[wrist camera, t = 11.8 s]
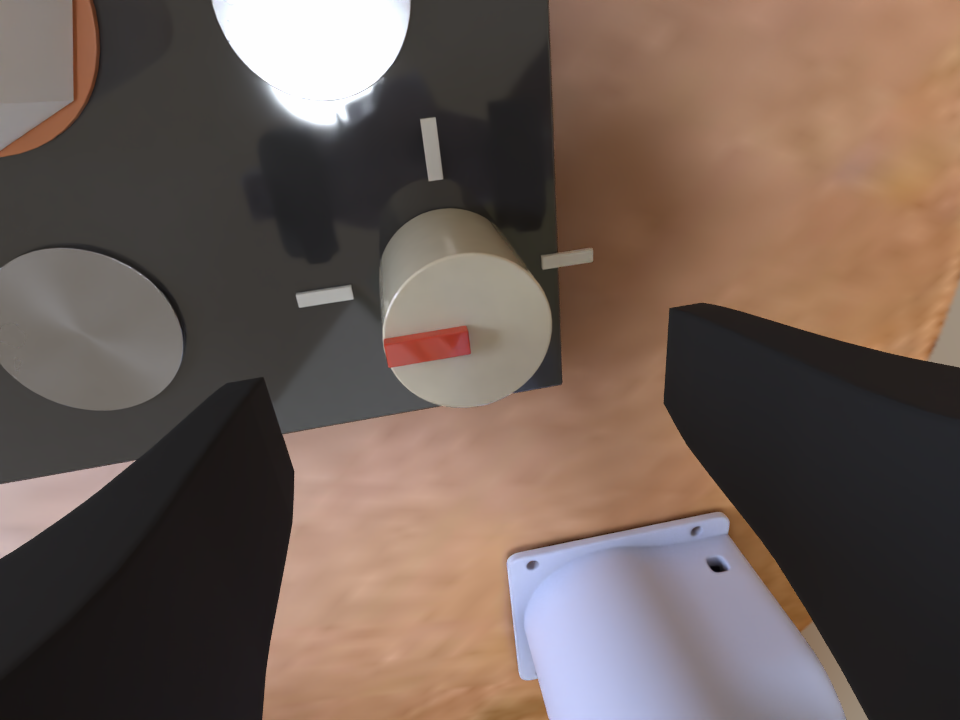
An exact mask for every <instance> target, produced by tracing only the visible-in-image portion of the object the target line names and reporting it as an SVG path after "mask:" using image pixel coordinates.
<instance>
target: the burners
mask: <svg viewBox="0 0 960 720" xmlns="http://www.w3.org/2000/svg"><path fill="white" fill-rule="evenodd" d="M211 4H212V7H213V10H214V13H215V16H216V19H217V22H218V24H219V26H220V28H221V30H222V33H223V35H224V36H225V38H226V40H227V41H228V43H229V45H230V46H231V48H232V49H233V50H234V52H235V53H236V54H237V56H238V57H239V58H240V60H241V61H242V62H243V63H244V64H245V65H246V66H247V67H248V68H249V69H250V70H251V71H252V72H253V73H254V74H256V75H257V76H258V77H259V78H260V79H262V80H263V81H265V82H266V83H268V84H269V85H271V86H272V87H274V88H276V89H278V90H280V91H282V92H284V93H286V94H289V95H291V96H294V97H297V98H301V99H306V100H312V101H335V100H340V99H346V98H349V97H351V96H354V95H357V94H359V93H361V92H363V91H365V90H367V89H368V88H370V87H371V86H372V85H374V84H375V83H376V82H378V81H379V80H380V79H381V78H382V77H383V76H384V75H385V74H386V73H387V72H388V70H389V69H390V68H391V66H392V65H393V64H394V62H395V60H396V59H397V57H398V55H399V54H400V52H401V49H402V47H403V44H404V42H405V39H406V36H407V32H408V28H409V23H410V16H411V0H211ZM72 15H73V99H74V101H72V102H71V103H69V104H68V105H67V106H65V107H64V108H62V109H61V110H59V111H58V112H56V113H55V114H53V115H52V116H50V117H49V118H47V119H46V120H45V121H43V122H42V123H40V124H39V125H37V126H36V127H34V128H33V129H31V130H30V131H28V132H27V133H25V134H24V135H23V136H21V137H20V138H18V139H17V140H15V141H14V142H12V143H11V144H9V145H8V146H6V147H5V148H3V149H2V150H1V151H0V157H6V156H11V155H16V154H21V153H24V152H27V151H30V150H32V149H35V148H38V147H41V146H42V145H44V144H46V143H48V142H50V141H52V140H54V139H55V138H57V137H58V136H59V135H60V134H62V133H63V132H64V131H66V130H67V129H68V128H69V127H70V126H71V125H72V124H73V122H74V121H75V120H76V119H77V118H78V117H79V115H80V114H81V112H82V111H83V109H84V108H85V106H86V104H87V103H88V100H89V98H90V96H91V93H92V91H93V89H94V86H95V81H96V77H97V73H98V68H99V57H100V38H99V27H98V21H97V15H96V10H95V6H94V3H93V0H72ZM184 352H185V333H184V327H183V324H182V321H181V318H180V315H179V313H178V311H177V309H176V307H175V305H174V304H173V302H172V301H171V299H170V297H169V296H168V295H167V294H166V292H165V291H164V290H163V289H162V287H160V286H159V285H158V284H157V283H156V282H155V281H154V280H153V279H152V278H151V277H150V276H149V275H147V274H146V273H145V272H143V271H142V270H141V269H139V268H137V267H136V266H134V265H133V264H131V263H129V262H127V261H125V260H123V259H121V258H119V257H117V256H114V255H112V254H109V253H106V252H103V251H100V250H96V249H92V248H87V247H80V246H65V245H61V246H48V247H43V248H39V249H34V250H32V251H29V252H26V253H23V254H21V255H19V256H18V257H16V258H14V259H12V260H10V261H9V262H8V263H6V264H5V265H4V266H2V267H1V268H0V364H1V365H2V366H3V368H4V369H5V370H6V371H7V372H8V373H9V374H10V375H11V376H12V377H13V378H15V379H16V380H17V381H18V382H20V383H21V384H22V385H24V386H25V387H27V388H28V389H30V390H31V391H33V392H35V393H36V394H38V395H40V396H42V397H44V398H46V399H49V400H51V401H54V402H56V403H59V404H62V405H66V406H69V407H73V408H78V409H84V410H94V411H111V410H120V409H125V408H129V407H133V406H136V405H139V404H142V403H144V402H146V401H148V400H150V399H152V398H153V397H155V396H156V395H158V394H159V393H161V392H162V391H163V390H164V389H165V388H166V387H167V386H168V385H169V384H170V383H171V381H172V380H173V379H174V377H175V376H176V374H177V372H178V370H179V368H180V366H181V363H182V361H183V358H184Z"/></svg>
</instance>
